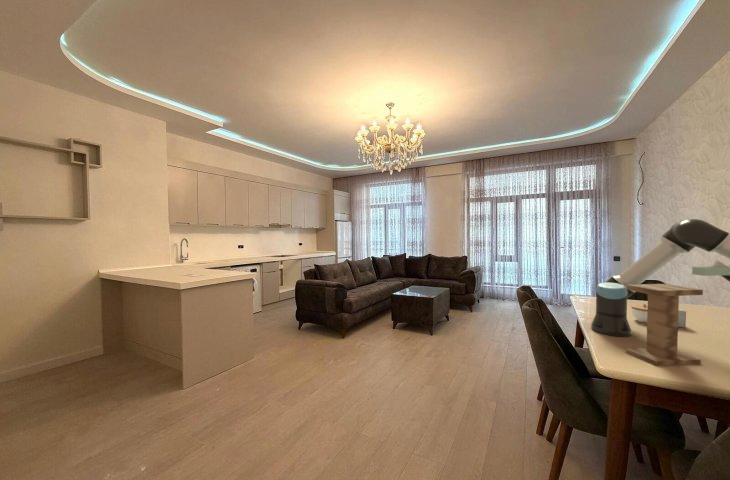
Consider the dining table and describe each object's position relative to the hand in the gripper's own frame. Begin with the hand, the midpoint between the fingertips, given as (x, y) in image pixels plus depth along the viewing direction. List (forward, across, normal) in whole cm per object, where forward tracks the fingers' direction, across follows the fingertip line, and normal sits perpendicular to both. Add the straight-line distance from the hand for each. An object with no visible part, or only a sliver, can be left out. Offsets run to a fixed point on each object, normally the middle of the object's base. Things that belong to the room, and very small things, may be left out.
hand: (723, 264), depth 115 cm
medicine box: (-38, +34, -21) cm, 55 cm away
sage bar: (-1, 0, -4) cm, 4 cm away
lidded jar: (-31, +42, -25) cm, 58 cm away
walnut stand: (+4, 0, -45) cm, 45 cm away
